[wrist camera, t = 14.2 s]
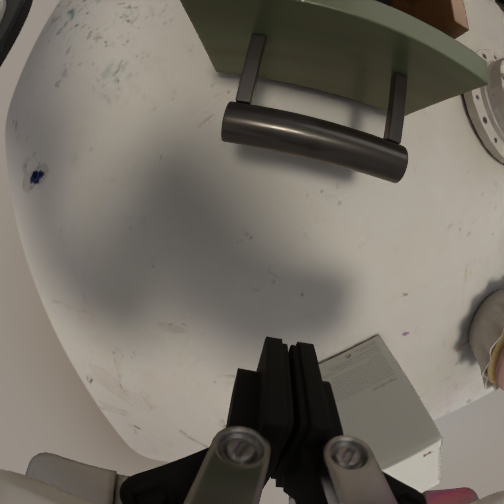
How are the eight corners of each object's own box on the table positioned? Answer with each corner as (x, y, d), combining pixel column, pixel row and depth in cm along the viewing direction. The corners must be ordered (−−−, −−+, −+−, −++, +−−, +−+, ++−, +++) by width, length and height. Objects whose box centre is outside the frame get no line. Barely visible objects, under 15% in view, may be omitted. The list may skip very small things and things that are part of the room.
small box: (310, 364, 19) (334, 487, 9) (379, 331, 18) (444, 437, 8) (341, 421, 21) (365, 517, 10) (398, 395, 20) (441, 483, 10)
